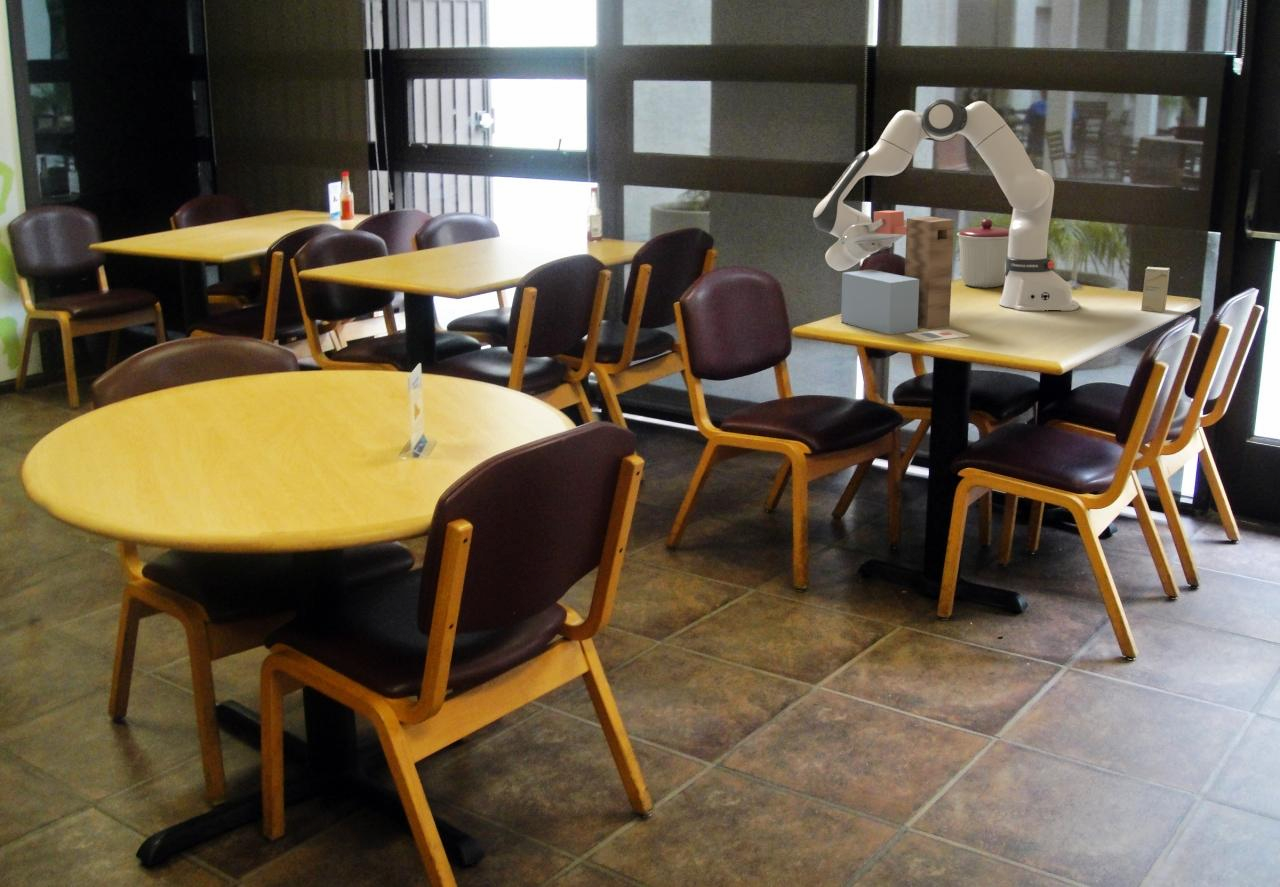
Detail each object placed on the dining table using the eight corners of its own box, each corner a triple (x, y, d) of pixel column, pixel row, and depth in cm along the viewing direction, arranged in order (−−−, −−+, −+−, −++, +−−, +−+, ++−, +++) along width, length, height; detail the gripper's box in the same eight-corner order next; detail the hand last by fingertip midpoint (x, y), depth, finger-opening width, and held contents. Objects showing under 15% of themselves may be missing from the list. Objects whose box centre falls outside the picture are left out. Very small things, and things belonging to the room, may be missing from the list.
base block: (841, 322, 386) (842, 272, 382) (868, 318, 391) (870, 269, 387) (888, 334, 369) (890, 282, 365) (917, 330, 374) (919, 279, 370)
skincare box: (1140, 310, 394) (1144, 268, 391) (1143, 307, 398) (1146, 266, 395) (1164, 312, 391) (1167, 269, 388) (1166, 309, 395) (1170, 267, 392)
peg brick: (873, 233, 391) (873, 211, 389) (887, 231, 393) (887, 210, 392) (918, 236, 374) (918, 214, 373) (932, 234, 377) (932, 212, 376)
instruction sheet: (904, 334, 368) (904, 333, 368) (948, 329, 374) (948, 328, 373) (925, 341, 360) (925, 340, 360) (970, 336, 365) (970, 335, 365)
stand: (903, 322, 384) (906, 218, 376) (924, 319, 388) (929, 216, 379) (927, 328, 375) (931, 222, 367) (949, 325, 379) (954, 219, 371)
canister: (1014, 290, 428) (1018, 222, 422) (955, 289, 432) (958, 222, 426) (1011, 281, 445) (1015, 215, 439) (954, 280, 449) (957, 215, 443)
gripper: (832, 233, 394) (859, 213, 382) (887, 227, 404) (916, 207, 392) (838, 253, 393) (866, 234, 381) (894, 247, 403) (922, 228, 391)
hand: (892, 220), depth 387 cm, fingers closed on peg brick, 5 cm apart
